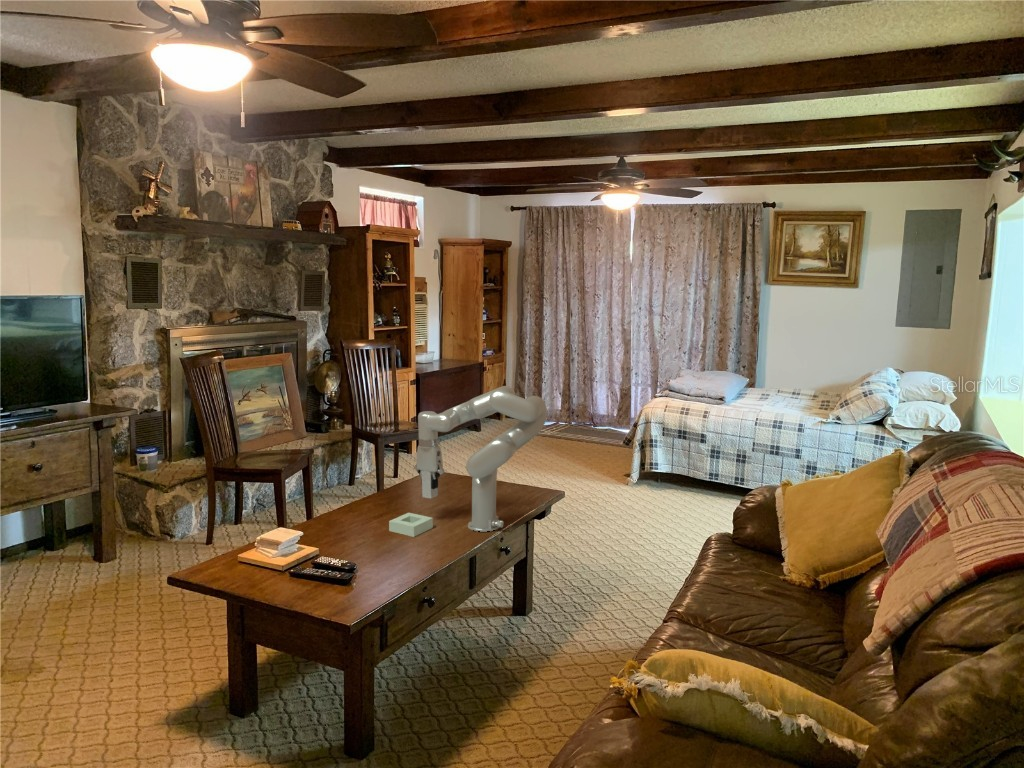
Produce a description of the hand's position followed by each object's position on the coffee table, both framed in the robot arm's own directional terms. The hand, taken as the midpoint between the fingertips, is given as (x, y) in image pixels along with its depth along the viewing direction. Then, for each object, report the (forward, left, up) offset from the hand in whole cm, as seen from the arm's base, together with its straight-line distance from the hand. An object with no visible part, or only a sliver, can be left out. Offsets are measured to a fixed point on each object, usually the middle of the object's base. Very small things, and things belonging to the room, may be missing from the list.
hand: (429, 486), depth 287 cm
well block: (+1, +11, -14) cm, 18 cm away
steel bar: (0, 0, -4) cm, 4 cm away
